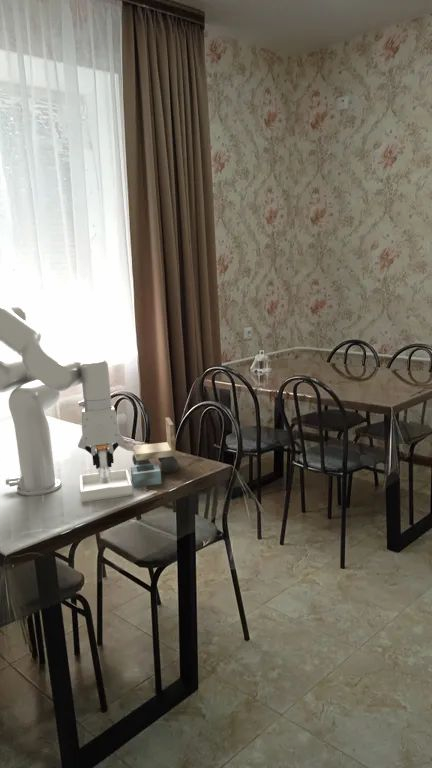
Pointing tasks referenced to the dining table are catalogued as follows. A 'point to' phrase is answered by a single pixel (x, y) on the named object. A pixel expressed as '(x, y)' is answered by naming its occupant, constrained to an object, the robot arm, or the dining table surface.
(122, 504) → the dining table surface
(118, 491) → the tray
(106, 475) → the stop pin
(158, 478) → the trolley
